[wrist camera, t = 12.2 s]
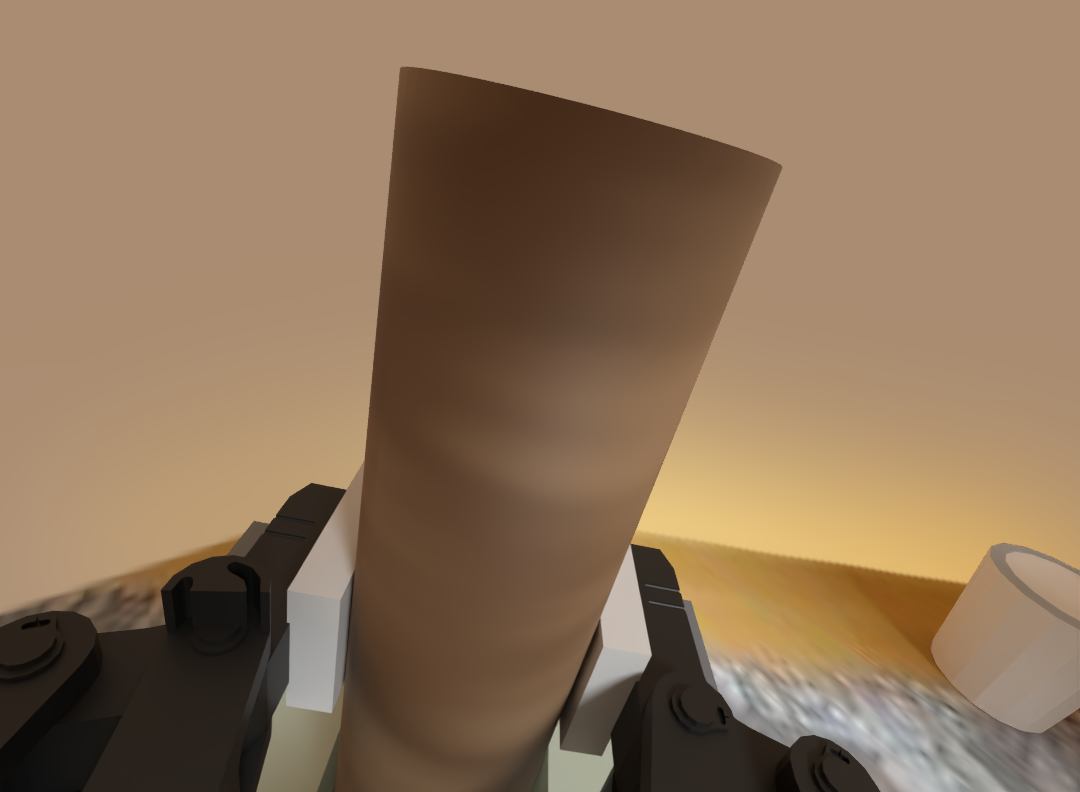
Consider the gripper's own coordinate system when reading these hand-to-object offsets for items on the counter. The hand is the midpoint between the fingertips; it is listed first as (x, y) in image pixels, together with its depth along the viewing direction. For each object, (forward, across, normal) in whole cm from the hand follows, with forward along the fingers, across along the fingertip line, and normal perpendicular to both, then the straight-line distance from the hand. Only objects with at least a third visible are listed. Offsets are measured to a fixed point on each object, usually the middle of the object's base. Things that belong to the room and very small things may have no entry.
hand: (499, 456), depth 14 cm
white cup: (+7, +29, -13) cm, 33 cm away
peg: (-5, 0, -8) cm, 10 cm away
